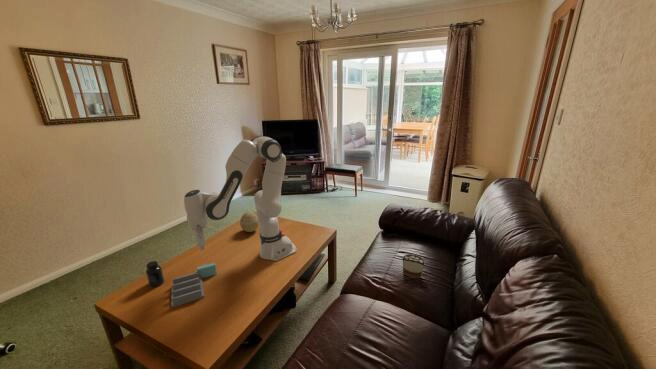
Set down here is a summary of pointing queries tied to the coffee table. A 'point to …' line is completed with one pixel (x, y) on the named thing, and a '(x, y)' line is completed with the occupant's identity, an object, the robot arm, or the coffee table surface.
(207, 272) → the teal upright panel
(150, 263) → the supplement bottle
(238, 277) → the coffee table surface
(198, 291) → the rack
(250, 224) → the fossilized egg
